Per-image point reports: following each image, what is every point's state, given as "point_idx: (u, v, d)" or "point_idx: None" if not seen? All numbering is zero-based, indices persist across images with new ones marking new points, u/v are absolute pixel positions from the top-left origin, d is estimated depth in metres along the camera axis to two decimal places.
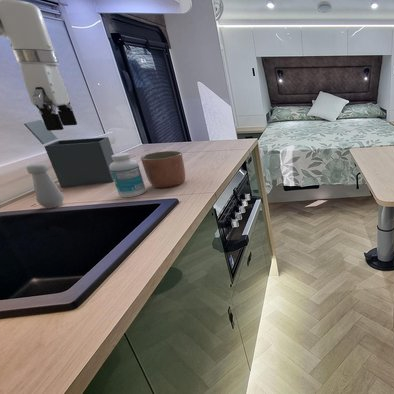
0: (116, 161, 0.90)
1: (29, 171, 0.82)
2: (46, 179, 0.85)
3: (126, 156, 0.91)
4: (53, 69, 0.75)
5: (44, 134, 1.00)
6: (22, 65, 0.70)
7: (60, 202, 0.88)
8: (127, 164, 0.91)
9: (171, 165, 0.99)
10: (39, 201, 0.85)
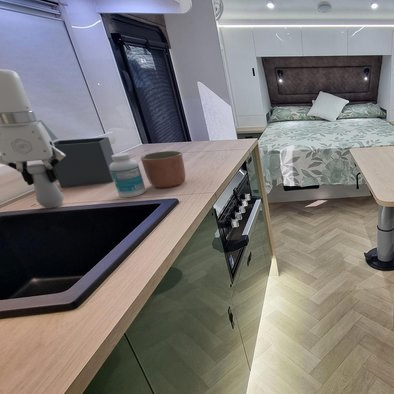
0: (116, 161, 0.90)
1: (29, 171, 0.82)
2: (46, 179, 0.85)
3: (126, 156, 0.91)
4: None
5: None
6: (36, 124, 0.79)
7: (60, 202, 0.88)
8: (127, 164, 0.91)
9: (171, 165, 0.99)
10: (39, 201, 0.85)
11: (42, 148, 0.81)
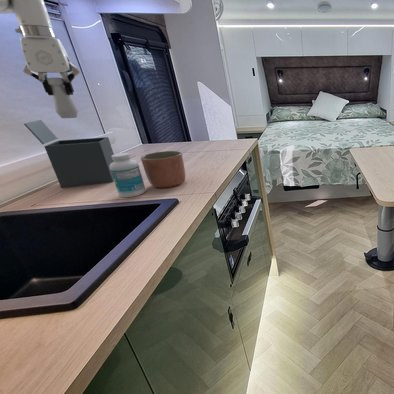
0: (116, 161, 0.90)
1: (49, 82, 0.95)
2: (63, 91, 0.98)
3: (126, 156, 0.91)
4: None
5: (44, 134, 1.00)
6: (56, 39, 0.92)
7: (75, 114, 1.01)
8: (127, 164, 0.91)
9: (171, 165, 0.99)
10: (57, 110, 0.98)
11: (61, 61, 0.94)
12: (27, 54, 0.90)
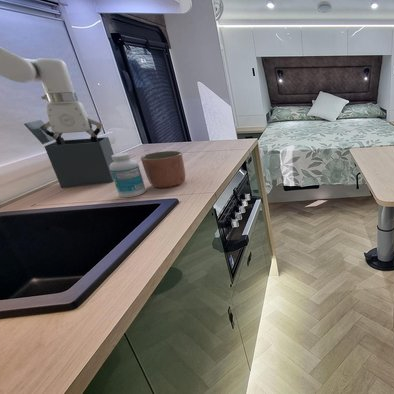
0: (116, 161, 0.90)
1: None
2: None
3: (126, 156, 0.91)
4: None
5: (44, 134, 1.00)
6: (78, 103, 1.00)
7: None
8: (127, 164, 0.91)
9: (171, 165, 0.99)
10: None
11: (82, 122, 1.01)
12: (52, 118, 0.98)
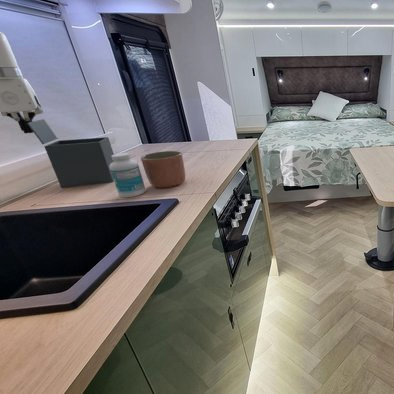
0: (116, 161, 0.90)
1: None
2: None
3: (126, 156, 0.91)
4: None
5: (45, 134, 1.00)
6: (22, 79, 0.92)
7: None
8: (127, 164, 0.91)
9: (171, 165, 0.99)
10: None
11: (27, 100, 0.94)
12: None
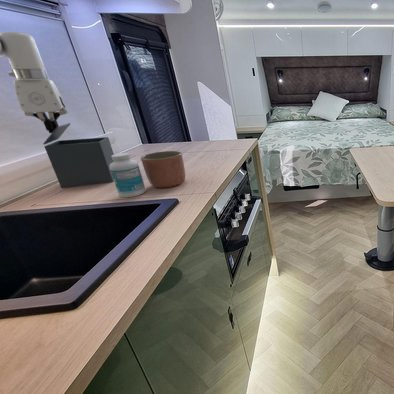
0: (116, 161, 0.90)
1: None
2: None
3: (126, 156, 0.91)
4: None
5: (55, 136, 1.01)
6: (48, 81, 0.95)
7: None
8: (127, 164, 0.91)
9: (171, 165, 0.99)
10: None
11: (53, 101, 0.96)
12: (20, 96, 0.93)
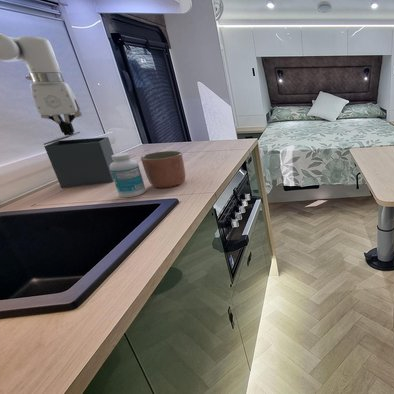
0: (116, 161, 0.90)
1: None
2: None
3: (126, 156, 0.91)
4: None
5: (58, 139, 1.02)
6: (64, 84, 0.97)
7: None
8: (127, 164, 0.91)
9: (171, 165, 0.99)
10: None
11: (69, 104, 0.98)
12: (37, 99, 0.95)
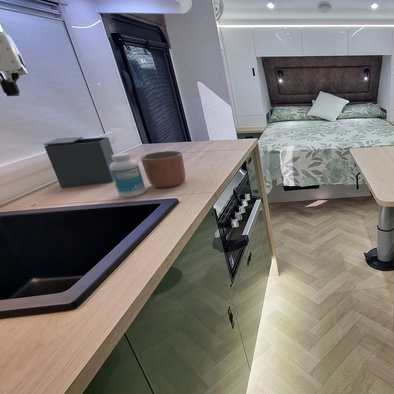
0: (116, 161, 0.90)
1: None
2: None
3: (126, 156, 0.91)
4: None
5: None
6: (4, 35, 0.84)
7: None
8: (127, 164, 0.91)
9: (171, 165, 0.99)
10: None
11: (10, 59, 0.86)
12: None
